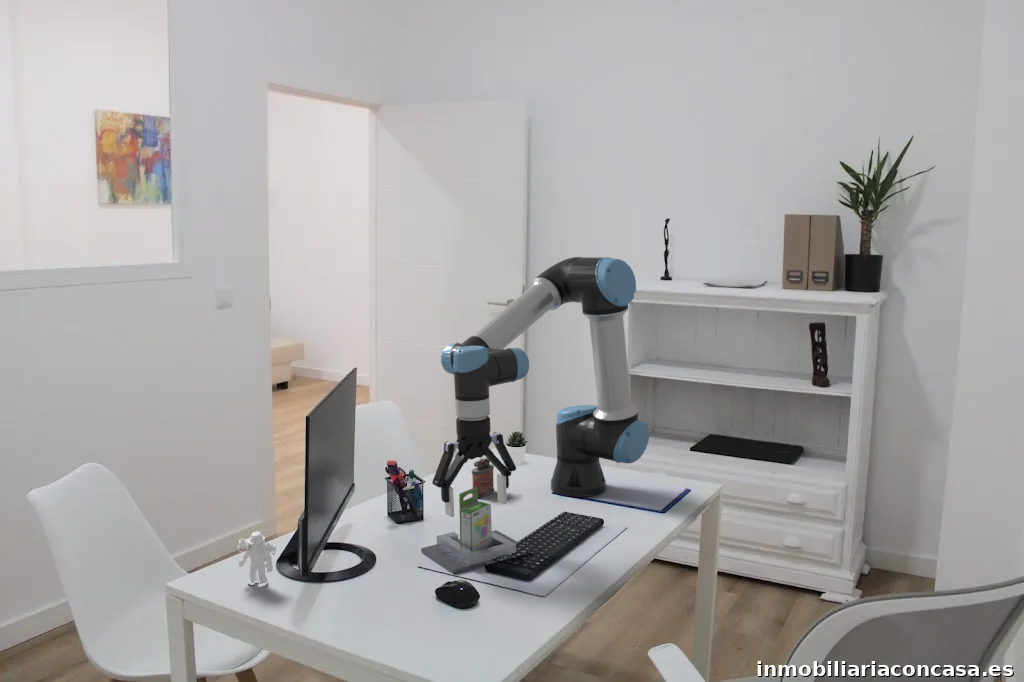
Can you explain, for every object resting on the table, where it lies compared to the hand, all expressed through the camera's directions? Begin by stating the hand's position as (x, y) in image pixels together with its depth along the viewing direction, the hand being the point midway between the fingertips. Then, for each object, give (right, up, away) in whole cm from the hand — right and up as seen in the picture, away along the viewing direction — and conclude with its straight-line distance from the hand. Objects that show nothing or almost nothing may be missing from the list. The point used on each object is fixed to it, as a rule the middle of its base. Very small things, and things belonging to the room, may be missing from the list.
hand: (476, 509), depth 199 cm
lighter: (0, -4, +43) cm, 43 cm away
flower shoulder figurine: (-45, -13, -14) cm, 49 cm away
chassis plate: (0, -10, +1) cm, 10 cm away
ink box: (0, -9, +1) cm, 9 cm away
